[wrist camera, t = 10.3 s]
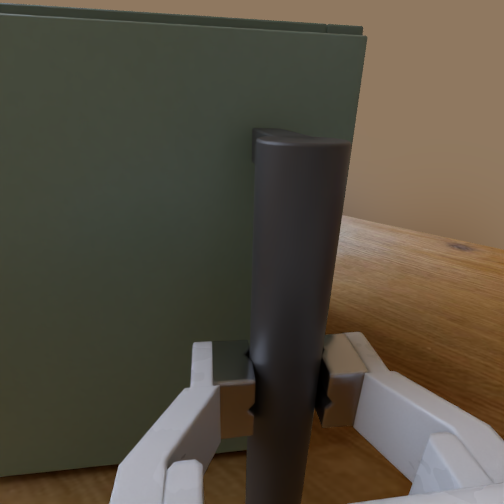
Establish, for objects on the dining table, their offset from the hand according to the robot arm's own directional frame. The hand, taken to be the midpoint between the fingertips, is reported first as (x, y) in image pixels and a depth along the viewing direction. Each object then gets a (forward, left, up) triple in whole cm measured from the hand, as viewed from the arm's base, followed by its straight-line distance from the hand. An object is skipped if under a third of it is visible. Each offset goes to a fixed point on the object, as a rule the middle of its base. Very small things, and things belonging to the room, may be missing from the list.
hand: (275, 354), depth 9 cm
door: (+1, +5, -9) cm, 10 cm away
